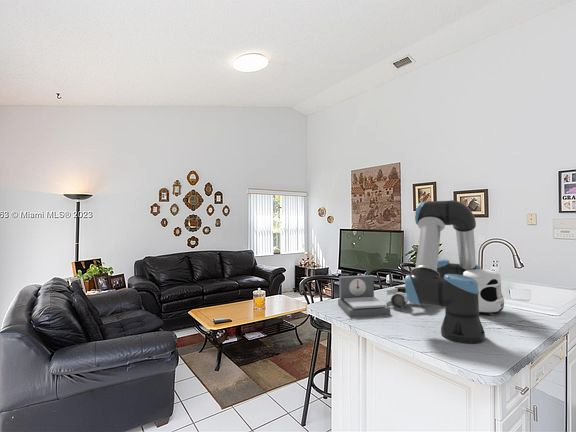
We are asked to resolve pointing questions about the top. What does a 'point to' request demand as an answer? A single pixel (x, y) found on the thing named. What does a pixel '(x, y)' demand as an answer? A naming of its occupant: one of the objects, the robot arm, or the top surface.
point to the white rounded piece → (488, 290)
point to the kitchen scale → (360, 297)
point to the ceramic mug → (397, 300)
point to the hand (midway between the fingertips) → (395, 295)
